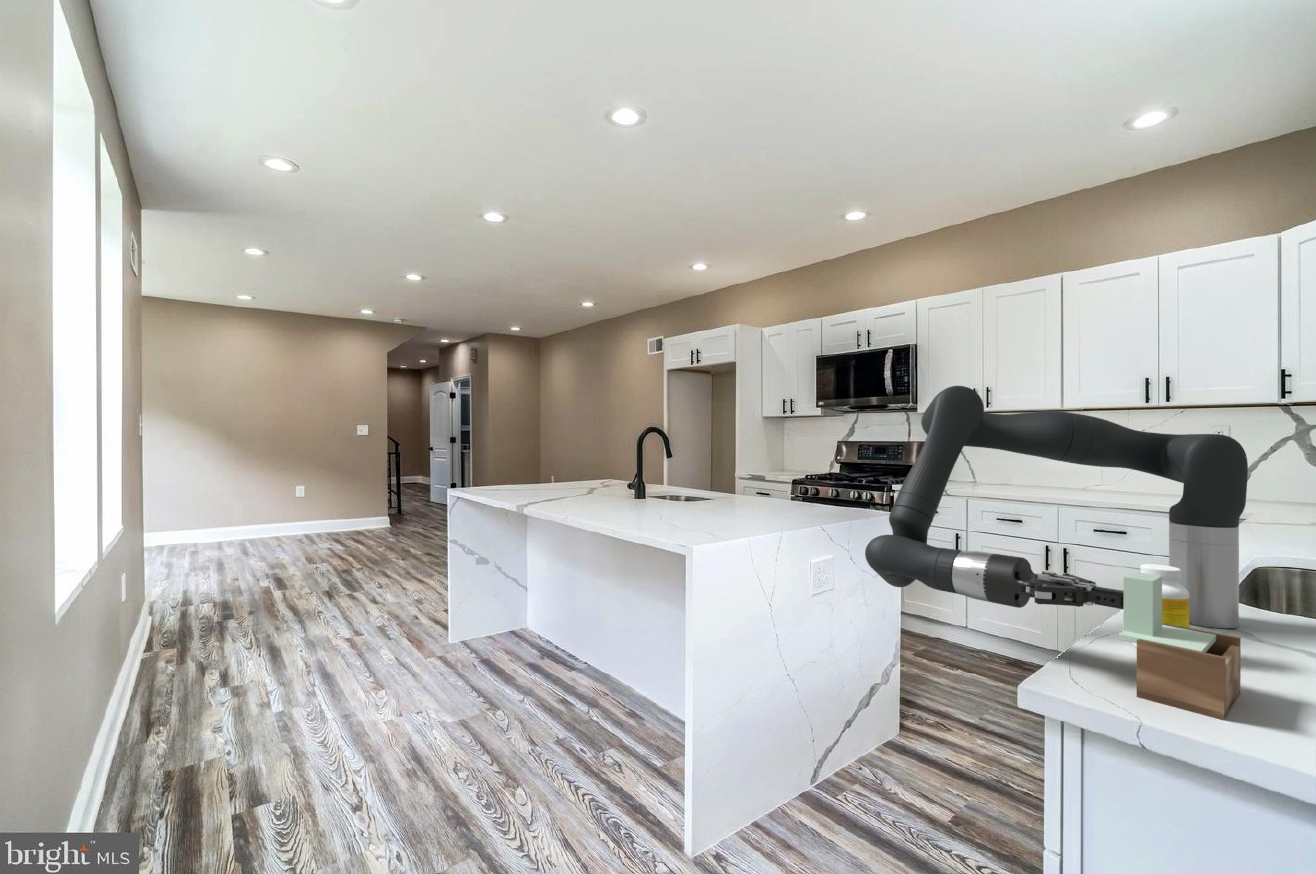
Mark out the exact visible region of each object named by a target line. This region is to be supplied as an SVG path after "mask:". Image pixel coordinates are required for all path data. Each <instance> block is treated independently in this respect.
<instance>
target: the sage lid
mask: <svg viewBox="0 0 1316 874" xmlns="http://www.w3.org/2000/svg"><path fill="white" fill-rule="evenodd" d="M1123 591H1124V609H1123V629H1122V631H1121V632H1119V633H1118V636H1117V637H1118V640H1120V641H1124V642H1128V643H1132V644H1133V643H1137V640H1138V639H1141V640H1146V641H1150V642H1155V643H1160V644H1165V645H1170V646H1174V647H1179V648H1184V649H1189V650H1194V651H1198V652H1203V653H1206V651H1207V650H1208V649H1209V648H1210V647H1211V646H1212V645H1213V643H1214V642H1215V641H1216V635H1214V634H1209V633H1203V632H1198V631H1193V630H1187V629H1182V628H1177V627H1172V626H1166V625H1162V576H1159V575H1152V574H1145V573H1141V572H1138V571H1137V572H1136V571H1133V572H1131V573H1129V574H1127V575H1125V576H1123Z"/></svg>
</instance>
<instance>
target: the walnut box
mask: <svg viewBox="0 0 1316 874" xmlns="http://www.w3.org/2000/svg"><path fill="white" fill-rule="evenodd" d="M1162 625H1166V626H1172V627H1177V628H1182V629H1187V630H1193V631H1198V632H1203V633H1209V634H1214V635H1216V641H1215V642H1214V643H1213V645H1212V646H1211V647H1210V648H1209V649H1208V650H1207V651H1206V653H1203V652H1198V651H1194V650H1189V649H1184V648H1179V647H1174V646H1170V645H1165V644H1160V643H1155V642H1150V641H1146V640H1141V639H1138V640H1137V648H1136V697H1137V698H1140V699H1144V700H1149V701H1152V702H1155V703H1159V704H1163V705H1167V706H1170V707H1174V708H1177V709H1181V710H1186V711H1188V712H1194V713H1196V714H1200V715H1203V716H1204V715H1205V716H1207V717H1211V718H1212V717H1213V718H1214V719H1215V718H1216V719H1218V718H1219V720H1223V721H1225V719H1226V717H1227V716H1228V715H1229V713H1230V711H1231V709H1232V708H1233V705H1234V704H1235V702H1236V701H1237V700H1238V698H1239V696H1240V694H1241V667H1242V666H1241V660H1242V659H1241V657H1242V655H1241V652H1242V651H1241V639H1242V638H1241V636H1236V635H1230V634H1226V633H1225V634H1224V633H1220V632H1215V631H1214V632H1213V631H1210V630H1203V629H1197V628H1194V627H1193V628H1192V627H1190V628H1188V627H1183V626H1177V625H1172V624H1167V623H1162Z"/></svg>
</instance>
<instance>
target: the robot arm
mask: <svg viewBox="0 0 1316 874" xmlns="http://www.w3.org/2000/svg"><path fill="white" fill-rule="evenodd" d="M984 405H985V404H984V402H983V399H982V397H981V396H980V395H979V393H978V392H977V391H976V390H974V389H972V388H970V387H967V386H964V385H952V386H949V387H946V388H944V389H943V390H941V391H940V392H938V393H937V395H936V396H934V398H933V399H932V400H931V402H930V403H929V405H928V406H927V408H926V409H925V410H924V412H923V414H922V417H921V428H922V430H923V431H924V433H925V434H926V435H927V436H926V438H925V441H924V444H923V445H922V448H921V450H920V451H919V454H918V456H917V458H916V459H915V461H914V463H913V464H912V467H911V468H910V470H909V472H908V473H907V475H906V477H905V479H904V481H903V482H902V485H901V487H900V489H899V491H898V494H897V496H896V498H895V501H894V503H893V506H892V508H891V510H890V513H889V516H888V522H889V526H890V528H891V530H892V534H882V535H879V536H876V537H874V538H872V539H871V540H870V541H869V542H868V544H867V545H866V548H865V550H864V555H865V560H866V562H867V564H868V566H869V567H870V569H872V570H873V571H874V572H875V573H876V574H878V576H879V577H880V578H882V579H883V580H884V581H885V582H886V583H887V584H889V585H890V586H892V587H895V588H905V587H908V586H910V585H911V584H913V583H914V582H916V581H918V582H920V583H922V584H924V585H925V586H927V588H930V589H933V590H935V591H936V590H937V591H940V592H946V593H952V594H957V595H961V596H965V597H967V598H970V599H974V600H979V601H984V602H988V603H992V604H998V605H1003V606H1007V607H1013V608H1018V609H1021V608H1024V607H1025V606H1027V604H1028V603H1029V601H1030V599H1032V598H1033V599H1034V603H1035V604H1037V605H1048V606H1049V605H1051V606H1053V605H1054V606H1067V607H1068V606H1071V607H1078V608H1079V607H1084V605H1085V606H1094V605H1098V606H1103V607H1108V608H1114V609H1118V610H1119V609H1120V610H1124V590H1121V589H1114V588H1108V587H1102V586H1098V584H1096V582H1095V581H1093V580H1090V579H1087V578H1082V577H1080V576H1076V575H1073V574H1071V573H1067V572H1065V573H1062V575H1061V574H1058V573H1056V572H1054V571H1048V570H1043V571H1041V573H1035V572H1034V571H1033V569H1032V566H1031V563H1030V562H1029V560H1028V559H1026V558H1025V557H1023V556H1022V557H1021V556H1014V555H1007V554H999V553H993V552H985V551H976V550H973V551H972V550H961V549H960V550H959V549H953V548H946V547H936V546H933V545H930V544H928V534H929V529H930V528H931V525H932V523H933V521H934V518H935V515H936V513H937V510H938V508H939V505H940V502H941V500H942V498H943V495H944V492H945V489H946V487H947V484H948V482H949V479H950V477H951V474H952V472H953V469H954V467H955V464H956V463H957V460H958V459H959V456H960V454H961V453H962V450H963V449H964V447H971V448H972V447H973V448H982V449H983V448H984V449H992V450H998V451H999V450H1000V451H1005V452H1011V453H1016V454H1021V455H1026V456H1033V457H1037V458H1038V457H1039V458H1044V459H1047V460H1051V461H1052V460H1053V461H1058V462H1063V463H1069V464H1074V465H1075V464H1076V465H1082V466H1091V467H1101V468H1117V469H1118V468H1121V469H1129V470H1133V471H1137V472H1142V473H1145V474H1150V475H1154V476H1157V477H1160V478H1163V479H1164V478H1165V479H1168V480H1171V481H1173V482H1177V483H1180V484H1181V483H1182V484H1183V490H1182V497H1181V499H1180V500H1179V501H1178V502H1177V503H1175V504H1173V505H1171V506H1170V508H1169V511H1168V566H1171V567H1176V568H1179V569H1180V570H1181V577H1180V579H1179V585H1181V586H1183V587H1185V588H1186V589H1187V590H1188V592H1189V619H1190V621H1189V622H1190V624H1189V625H1191V624H1192V625H1196V626H1201V627H1209V628H1217V629H1234V628H1235V629H1236V628H1238V627H1240V626H1239V625H1240V623H1239V619H1240V613H1239V612H1240V609H1239V608H1240V557H1239V556H1240V535H1239V534H1240V532H1239V531H1240V517H1241V516H1242V514H1243V512H1244V511H1245V508H1246V504H1247V503H1246V502H1247V491H1248V488H1247V487H1248V476H1249V474H1248V473H1249V469H1248V468H1249V467H1248V466H1249V464H1248V458H1247V452H1246V451H1245V449H1244V447H1243V446H1242V444H1241V443H1240V442H1239V441H1237V440H1236V439H1235V438H1233V437H1232V436H1229V435H1226V434H1220V433H1195V434H1194V433H1191V434H1190V433H1188V434H1185V433H1184V434H1176V433H1175V434H1174V433H1161V432H1160V433H1159V432H1151V431H1150V432H1149V431H1141V430H1136V429H1132V428H1129V427H1126V426H1123V425H1121V424H1119V423H1116V422H1112V421H1109V420H1107V419H1104V418H1101V417H1097V416H1096V417H1095V416H1091V415H1088V414H1087V415H1086V414H1082V413H1075V412H1068V411H1061V410H1045V411H1044V410H1043V411H1032V412H1031V411H1030V412H1023V413H1011V414H1002V413H1001V414H1000V413H991V412H985V411H984V410H985V406H984Z"/></svg>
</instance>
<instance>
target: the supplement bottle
mask: <svg viewBox="0 0 1316 874" xmlns="http://www.w3.org/2000/svg"><path fill="white" fill-rule="evenodd" d="M1139 571H1140V572H1139V573H1145V574H1152V575H1159V576H1162V623H1167V624H1172V625H1177V626H1183V627H1188V628H1191V627H1190V625H1191V624H1190V622H1189V621H1190V619H1189V592H1188V590H1187V589H1186V588H1185V587H1183V586H1181V585H1179V579H1180V577H1181V570H1180V569H1179V568H1176V567H1171V566H1169V565H1165V564H1155V563H1153V564H1151V563H1143V564H1141V565H1140V570H1139ZM1132 645H1133V647H1134V648H1135V649H1137V643H1133V642H1132Z"/></svg>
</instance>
